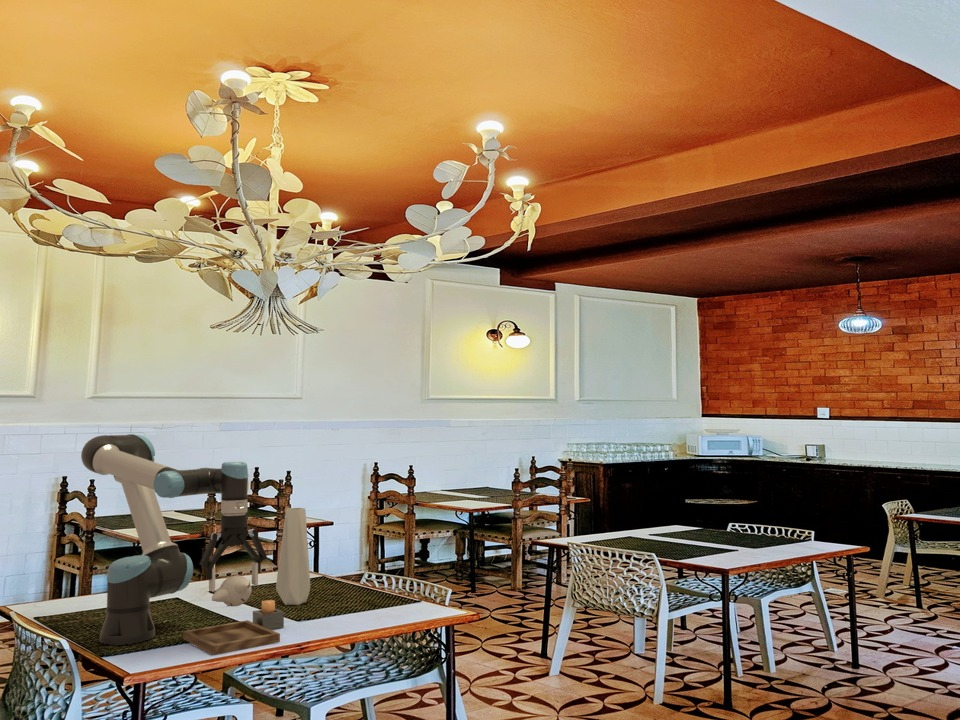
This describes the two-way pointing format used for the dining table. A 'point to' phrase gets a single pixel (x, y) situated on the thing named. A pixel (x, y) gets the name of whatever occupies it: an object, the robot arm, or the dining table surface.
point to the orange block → (268, 606)
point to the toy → (233, 591)
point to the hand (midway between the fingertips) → (233, 587)
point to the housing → (269, 619)
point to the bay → (231, 637)
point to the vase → (294, 559)
